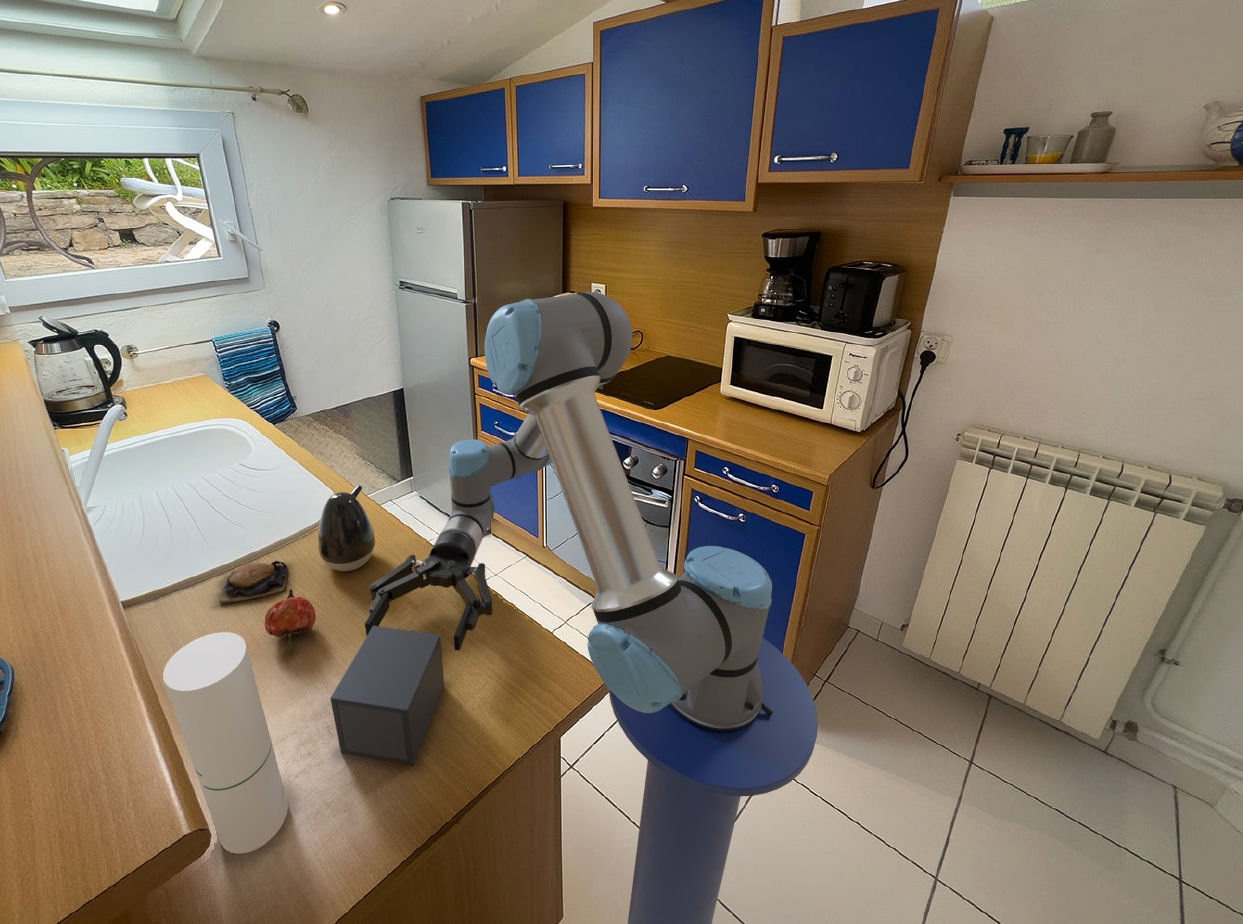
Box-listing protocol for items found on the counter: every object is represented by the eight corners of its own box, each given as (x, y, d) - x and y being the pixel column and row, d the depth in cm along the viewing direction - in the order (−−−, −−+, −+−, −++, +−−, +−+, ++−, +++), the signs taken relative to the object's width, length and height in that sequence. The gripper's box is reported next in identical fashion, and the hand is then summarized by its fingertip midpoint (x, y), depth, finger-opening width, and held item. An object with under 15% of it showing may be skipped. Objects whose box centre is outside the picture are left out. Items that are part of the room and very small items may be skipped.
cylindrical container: (266, 776, 69) (224, 622, 59) (300, 811, 65) (260, 653, 56) (207, 827, 64) (149, 666, 54) (239, 869, 60) (184, 704, 50)
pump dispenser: (389, 553, 109) (381, 487, 104) (351, 586, 101) (340, 515, 95) (349, 539, 113) (339, 474, 107) (310, 570, 105) (297, 501, 99)
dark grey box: (444, 686, 81) (440, 634, 78) (414, 765, 70) (407, 710, 67) (380, 676, 83) (373, 625, 79) (340, 753, 72) (330, 698, 68)
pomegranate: (320, 654, 89) (326, 590, 94) (300, 650, 83) (308, 582, 88) (274, 659, 89) (283, 595, 94) (250, 655, 83) (261, 586, 88)
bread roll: (218, 607, 95) (213, 591, 94) (226, 576, 103) (222, 560, 101) (285, 593, 99) (281, 577, 97) (288, 564, 106) (285, 548, 105)
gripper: (523, 572, 100) (495, 668, 81) (393, 556, 103) (335, 645, 84) (523, 537, 97) (494, 629, 78) (389, 522, 100) (328, 606, 81)
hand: (411, 637), depth 81 cm, fingers open, 13 cm apart
